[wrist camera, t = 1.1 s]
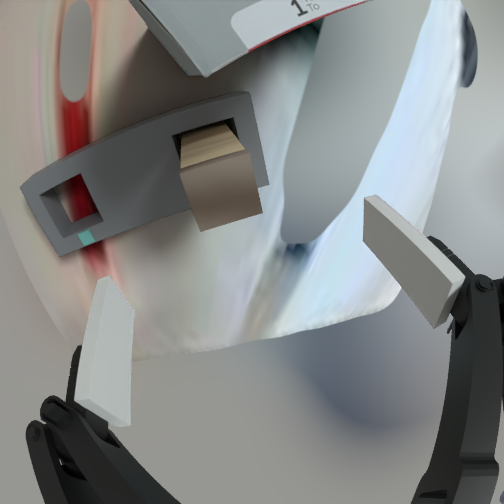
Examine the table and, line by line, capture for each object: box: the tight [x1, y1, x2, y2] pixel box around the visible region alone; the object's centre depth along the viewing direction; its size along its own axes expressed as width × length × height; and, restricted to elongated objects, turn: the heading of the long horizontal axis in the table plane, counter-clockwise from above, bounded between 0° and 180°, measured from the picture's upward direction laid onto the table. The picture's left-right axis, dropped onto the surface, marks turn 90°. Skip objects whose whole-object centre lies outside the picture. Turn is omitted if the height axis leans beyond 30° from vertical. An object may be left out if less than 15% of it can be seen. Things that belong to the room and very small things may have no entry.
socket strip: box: [20, 90, 269, 257], centre depth 27 cm, size 10×26×4 cm, turn 102°
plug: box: [179, 121, 263, 232], centre depth 24 cm, size 5×5×13 cm
